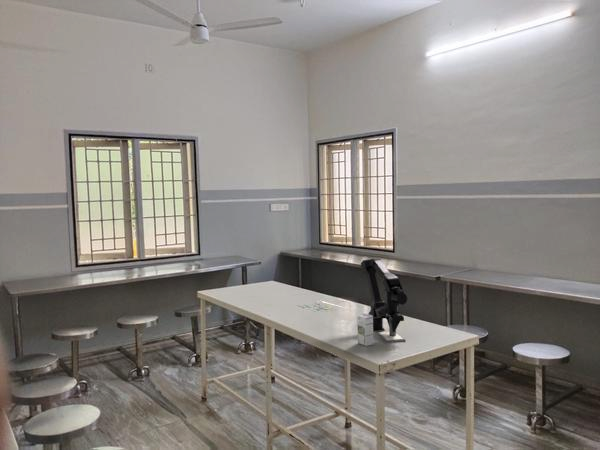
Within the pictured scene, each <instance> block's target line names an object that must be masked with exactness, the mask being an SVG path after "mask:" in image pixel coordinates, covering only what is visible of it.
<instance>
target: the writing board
mask: <svg viewBox="0 0 600 450" xmlns="http://www.w3.org/2000/svg"><path fill="white" fill-rule="evenodd" d="M376 334H377V336H378V337H379V338H380V339H381V340H382V341H384V342H385V343H387V344H388V343H390V344H391V343H401V342H406V338H404V337H403V336H402V335H401V334H400V333H398V332H397V331H396V336H390V335H389V331H383V332H382V331H378V332H377V333H376Z"/></svg>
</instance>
